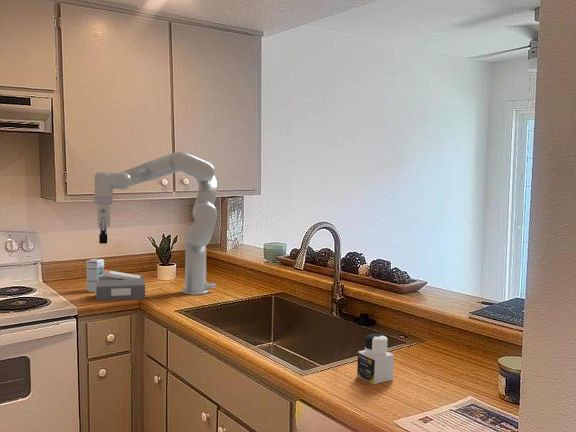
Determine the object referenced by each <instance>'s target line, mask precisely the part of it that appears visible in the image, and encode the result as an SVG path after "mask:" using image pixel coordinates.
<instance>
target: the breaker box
mask: <svg viewBox="0 0 576 432" xmlns="http://www.w3.org/2000/svg"><path fill="white" fill-rule="evenodd" d="M138 275H139V276H140V279H137V280H126V279H120V278H114V277H108V276H98V282H97V286H96V292H95V293H96V294H95V295H96V296H95V297H96V302H103V301H104V302H105V301H125V300H127V301H128V300H129V301H130V300H145V299H146V284H145V279H144V274H138Z"/></svg>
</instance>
